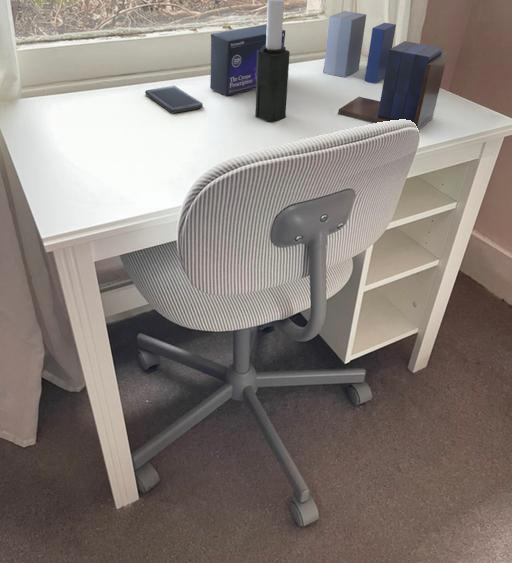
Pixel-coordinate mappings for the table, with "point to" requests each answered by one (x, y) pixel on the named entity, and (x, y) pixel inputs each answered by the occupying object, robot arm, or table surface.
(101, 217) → the table surface
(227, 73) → the box
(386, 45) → the navy book
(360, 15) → the grey upright block
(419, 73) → the book rack
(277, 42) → the candle
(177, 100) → the cell phone
